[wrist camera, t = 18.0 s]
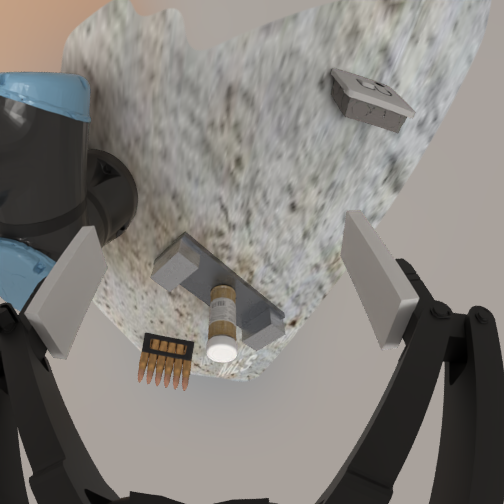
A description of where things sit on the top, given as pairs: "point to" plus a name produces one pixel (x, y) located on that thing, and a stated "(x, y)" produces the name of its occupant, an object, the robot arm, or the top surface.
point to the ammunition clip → (166, 359)
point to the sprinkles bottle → (222, 325)
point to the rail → (214, 274)
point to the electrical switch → (369, 101)
